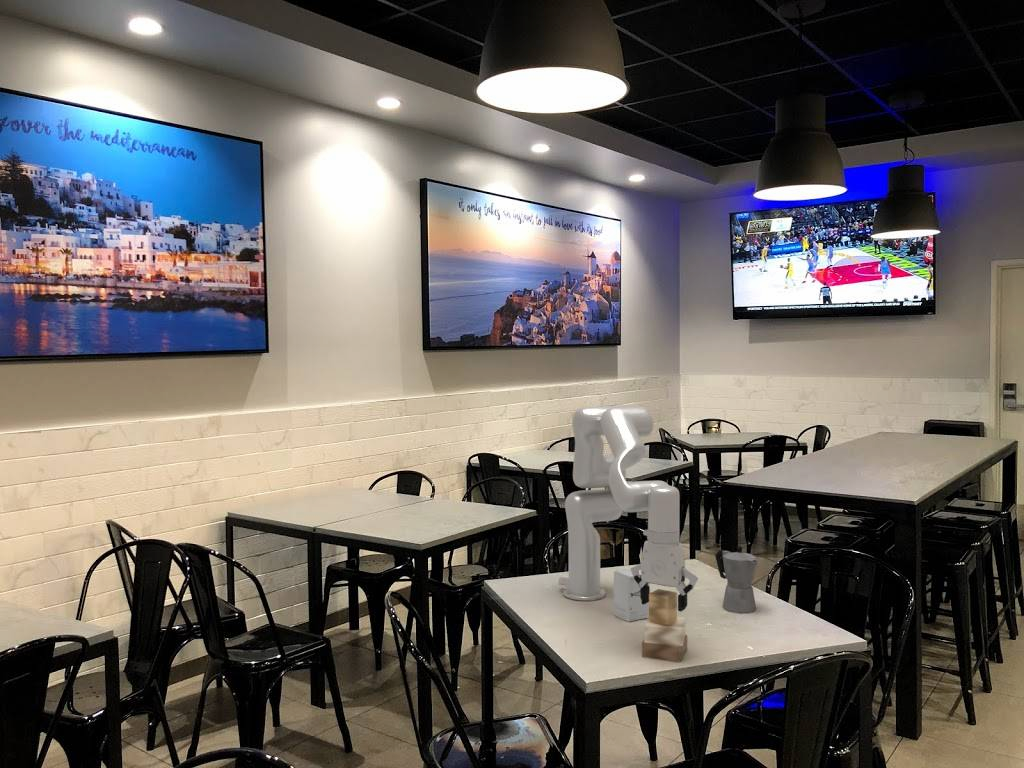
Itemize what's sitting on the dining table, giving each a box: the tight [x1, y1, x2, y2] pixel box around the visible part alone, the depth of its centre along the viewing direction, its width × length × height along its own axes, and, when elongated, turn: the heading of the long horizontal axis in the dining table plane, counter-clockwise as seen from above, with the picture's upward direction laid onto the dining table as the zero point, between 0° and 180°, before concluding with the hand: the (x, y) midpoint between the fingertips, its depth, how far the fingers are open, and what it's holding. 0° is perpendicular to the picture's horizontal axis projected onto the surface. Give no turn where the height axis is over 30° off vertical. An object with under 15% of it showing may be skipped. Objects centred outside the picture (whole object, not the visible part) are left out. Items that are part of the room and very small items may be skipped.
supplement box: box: [613, 567, 651, 623], centre depth 231 cm, size 7×7×13 cm
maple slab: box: [644, 616, 687, 646], centre depth 204 cm, size 9×9×4 cm
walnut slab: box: [641, 634, 688, 663], centre depth 204 cm, size 9×9×4 cm
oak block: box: [649, 588, 678, 626], centre depth 204 cm, size 5×5×7 cm
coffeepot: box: [714, 545, 760, 614], centre depth 239 cm, size 15×9×18 cm, turn 33°
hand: (663, 606), depth 204 cm, fingers open, 9 cm apart
